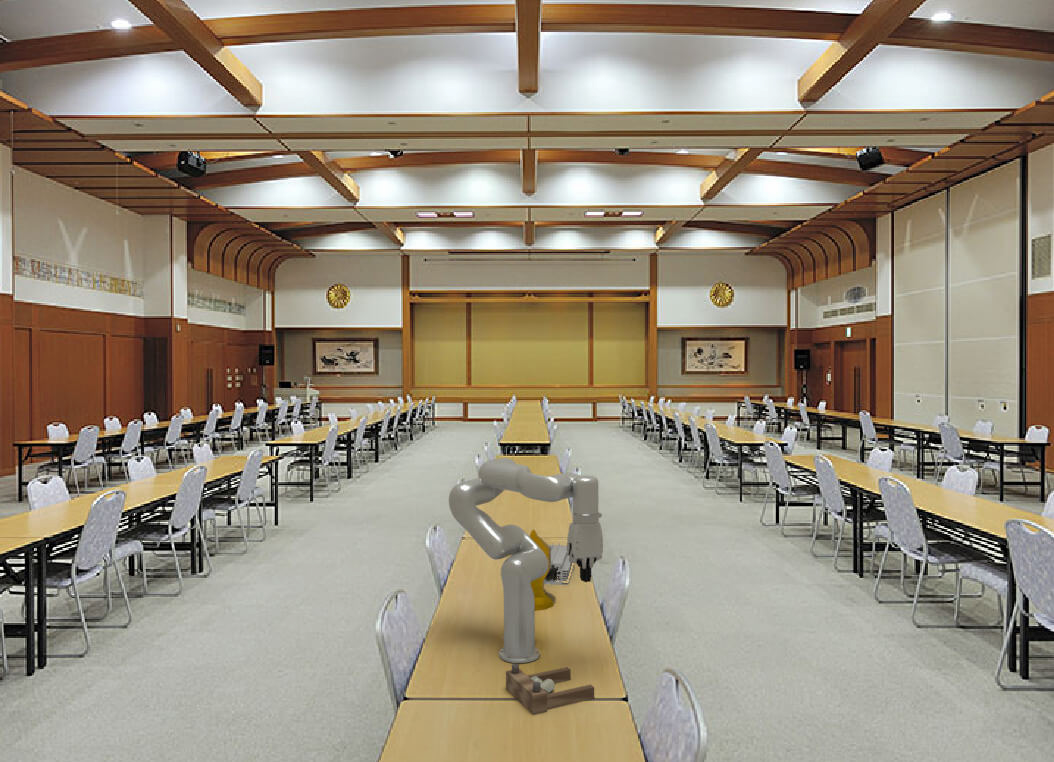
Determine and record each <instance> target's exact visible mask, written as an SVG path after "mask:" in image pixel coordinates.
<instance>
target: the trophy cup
mask: <svg viewBox="0 0 1054 762" xmlns="http://www.w3.org/2000/svg"><path fill="white" fill-rule="evenodd" d="M536 531H537V530H535V529H532V530H531V531H530V534H529V536H530V537H531V539H532V540H533V541H534V542H535V543H536V544H537V545H538V546H539V547H540V548H541V550H542V551H543V552H544V553H545V555H546V557H547V559H548V570H547V572H546V573H545V574H544V575H543V576H542V577H540V578H538V579H536V580H533V581H532V582H531V588H532V590H533V593H534V605H535V612H538V611H545V610H548V609H551V608H553V607H554V606H555V604H556V603H557V602H556V599H557V598H556V597H555V595H554V594H552V593H550V592H548V591H547V590H546V589H545V584H544V579H545V578H546V576H547V574H548V572H549V570H550V568H551V547H550V546H549V545H550V544H548V543H547V542H545V540H543V538H542V537H540V536H538V534H537V532H536Z"/></svg>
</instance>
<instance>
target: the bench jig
mask: <svg viewBox="0 0 1054 762" xmlns="http://www.w3.org/2000/svg"><path fill="white" fill-rule="evenodd" d="M571 670H572V669H571V668H569V667H568V666H565V667H561V668H556V669H551V670H547V671H543V672H538V673H536V672H535V673H533V674H528V675H527V674H526V673H525V672H524V671H523V670H521V669H520V663H513V664H511V669H510V670H506V671H505V689H506V690H507V692H509V694H511V695H512V696H513V697H514V698H515V699H516V700H517V701H518V702H519V703H521V705H522V706H523V707H525V708H526V709H527V710H528V712H530V713H531V715H533V716H534V715H538V714H541V713H546V712H548V710H550V709H553V708H559V707H563V706H567V705H572V704H577V703H581V702H583V701H588V700H589V701H590V700H592V699H595V687H594V685H592V684H586V685H582V686H578V687H573V688H569V689H564V690H560V691H555V692H549V693H548V694H547V692H546V691H545V690H544V689H542V688H541V687H540V682H534V681H533V680H532V679H531V678H532V677H534V676H537V677H538V678H540V679H541V680H542V682H543V681H545V680H546V679H551V680H553V682H554V684H559V683H564V682H567V681H568V682H569V681H571V675H572V674H571V673H572V672H571Z"/></svg>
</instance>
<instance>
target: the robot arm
mask: <svg viewBox="0 0 1054 762" xmlns="http://www.w3.org/2000/svg"><path fill="white" fill-rule="evenodd" d="M477 473H478V475H477V476H478V478H475V479H471V480H470V479H469V480H465V481H462V482H459V483H457V484H456V485H454V486H453V487H452V488H451V490H450V492H449V496H448V504H449V505H448V507H449V510H450V512H451V515H452V516H453V518H454V520H456V522H457V523H458V524H459V525H460V526H462V528H463V529H464V530H465V531H466V532H467V533H468V534H469V536H471V538H472V539H473V540H474V542H476V543H477V545H478V546H479V547H480V548H481V549H482V550H483V551H484V553H485V554H486V555H487V556H488V557H489V558H490V559H491V560H492V559H493V560H495V561H496V560H501V559H504V558H506V559H505V560H504V561H503V563H502V565H501V567H500V578H501V582H502V583H501V584H502V591H503V637H502V640H503V647H502V648H501V649H499V650H498V653H499V654H498V656H499V658H500V659H501V660H503V661H505V662H508V663H513V664H525V663H531V662H534V661H536V660H538V658H539V657H540V655H541V653H540V650H539V648H537V647H536V646H535V645H536V643H535V642H536V641H535V640H536V637H535V636H536V635H535V634H536V633H535V632H536V631H535V629H536V628H535V627H536V626H535V624H536V623H535V621H536V619H535V612H536V611H535V605H534V593H533V590H532V588H531V582H532V581H533V580H536V579H538V578H540V577H542V576H543V575H544V574H545V573H546V572H547V570H548V559H547V557H546V555H545V553H544V552H543V551H542V550H541V548H540V547H539V546H538V545H537V544H536V543H535V542H534V541H533V540H532V539H531V537H530V534H528V533H527V532H526V531H525V530H524V529H523V528H521V527H520V526H518V525H517V524H516V525H515V524H506V525H503V526H501V525H499V524H497V522H496V521H495V520H493V518H492V517H491V516H490V515H489V514H487V513H486V512H485V511H484V510H482V509H480V508H478V507H477V506H480V505H483V504H487V503H489V502H492V501H493V500H495V499H496V498H497V497H498V496H500V494H502V493H503V492H504V491H511V492H514V493H515V492H516V493H520V494H521V495H522V496H524V497H526V498H528V499H532V500H535V501H541V502H548V503H556V502H561V501H563V500H567V499H570V498H572V522H570V523H569V527H568V532H567V539H566V540H567V542H566V546H567V555H569V562H571V563H574V564H576V565H577V566H578V567H579V578H580V580H581V581H582V582H584V583H591V581H592V568H593V567H594V564H595V563H596V562H597V561H599V560H601V559H603V552H604V540H603V539H604V538H603V531H602V526H601V522H600V518H602V516H603V514H602V513H601V512H599V480H598V478H597V477H596V476H593V475H579V474H575V473H573V472H563V473H558V474H553V475H549V476H548V475H540V474H537V473H536V474H535V473H532V471H531V469H530V468H529V466H527V465H524V464H519V463H517V462H515V461H514V460H513V459H511V458H508V457H501V458H496V459H495V458H494V459H489V460H487V461H485V462H484V463H482V464H481V465H480V466H479V469H478V472H477Z"/></svg>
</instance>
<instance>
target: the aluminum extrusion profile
mask: <svg viewBox="0 0 1054 762" xmlns="http://www.w3.org/2000/svg"><path fill="white" fill-rule="evenodd" d="M548 545H549V546H550V547H551V568H550V570H549V572H548V574H547V576H546V578H545V579H544V585H553V586H554V585H555V586H556V585H557V586H569V584H570V582H571V581H570V580H571V578H572V574H573V571H574V568H575V565H574V566H573V569H572V572H571V576H570V579H569V582H568V583H563V582H562V581H567V579H568V576H569V573H570V570H571V566H572V563H571V562H569V555H567V544H566V545H565V544H564V545H561V544H560V543H557V544H554V543H551V544H548ZM557 577H558V578H557ZM556 581H559V582H556Z"/></svg>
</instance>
